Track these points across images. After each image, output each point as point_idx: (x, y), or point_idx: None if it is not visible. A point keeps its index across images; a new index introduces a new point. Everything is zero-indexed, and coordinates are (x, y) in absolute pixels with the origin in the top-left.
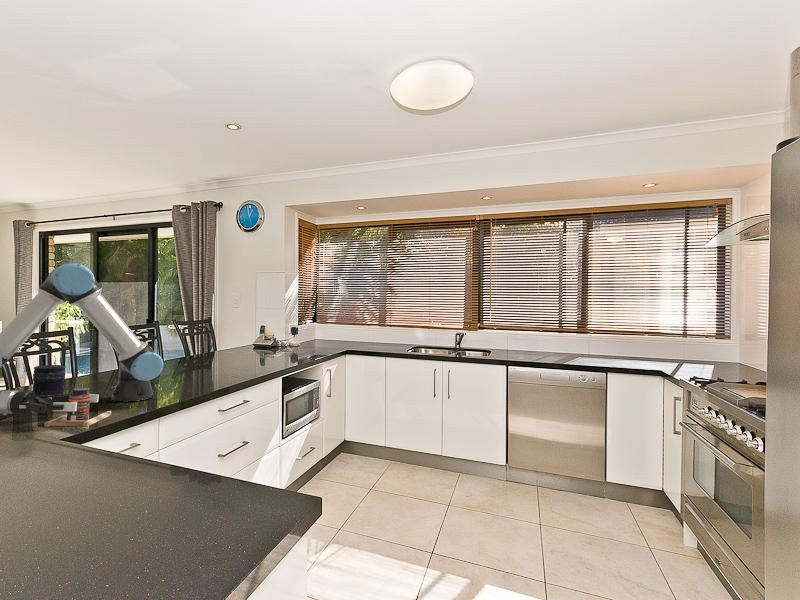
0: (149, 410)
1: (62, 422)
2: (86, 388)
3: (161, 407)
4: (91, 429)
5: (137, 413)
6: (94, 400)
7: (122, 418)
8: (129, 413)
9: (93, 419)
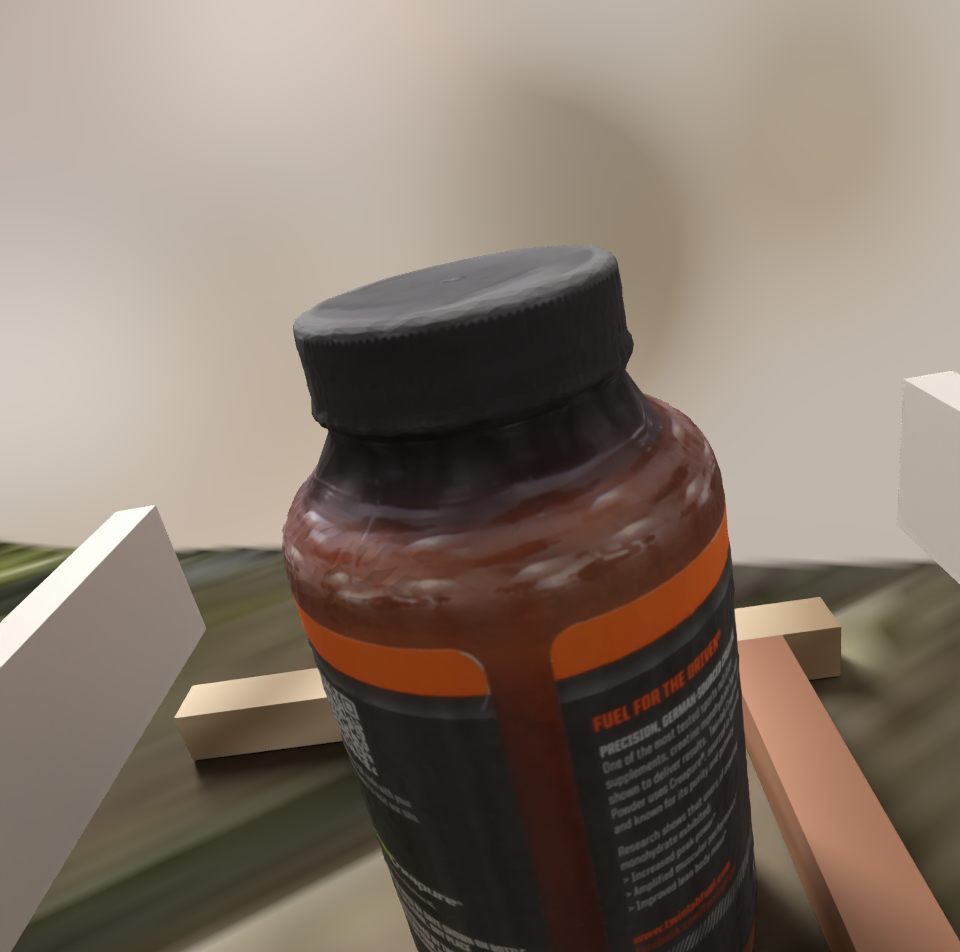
0: None
1: (944, 932)
2: (360, 288)
3: (56, 553)
4: (895, 565)
5: (233, 579)
6: (178, 626)
7: None
8: (206, 623)
9: None
